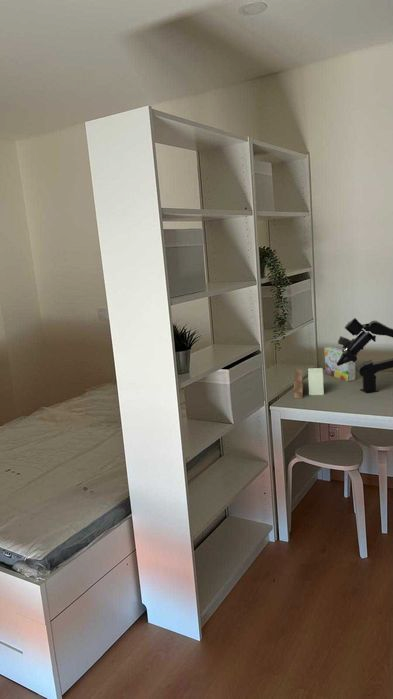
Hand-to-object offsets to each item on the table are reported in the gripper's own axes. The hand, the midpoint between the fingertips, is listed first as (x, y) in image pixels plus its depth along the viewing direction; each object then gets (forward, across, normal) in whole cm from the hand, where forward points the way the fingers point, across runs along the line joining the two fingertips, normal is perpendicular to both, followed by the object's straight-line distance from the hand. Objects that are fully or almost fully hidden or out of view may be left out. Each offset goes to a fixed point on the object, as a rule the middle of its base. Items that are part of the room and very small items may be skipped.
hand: (337, 364), depth 263 cm
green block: (+17, 0, +2) cm, 17 cm away
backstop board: (+23, 0, -4) cm, 23 cm away
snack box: (+8, -27, +12) cm, 31 cm away
